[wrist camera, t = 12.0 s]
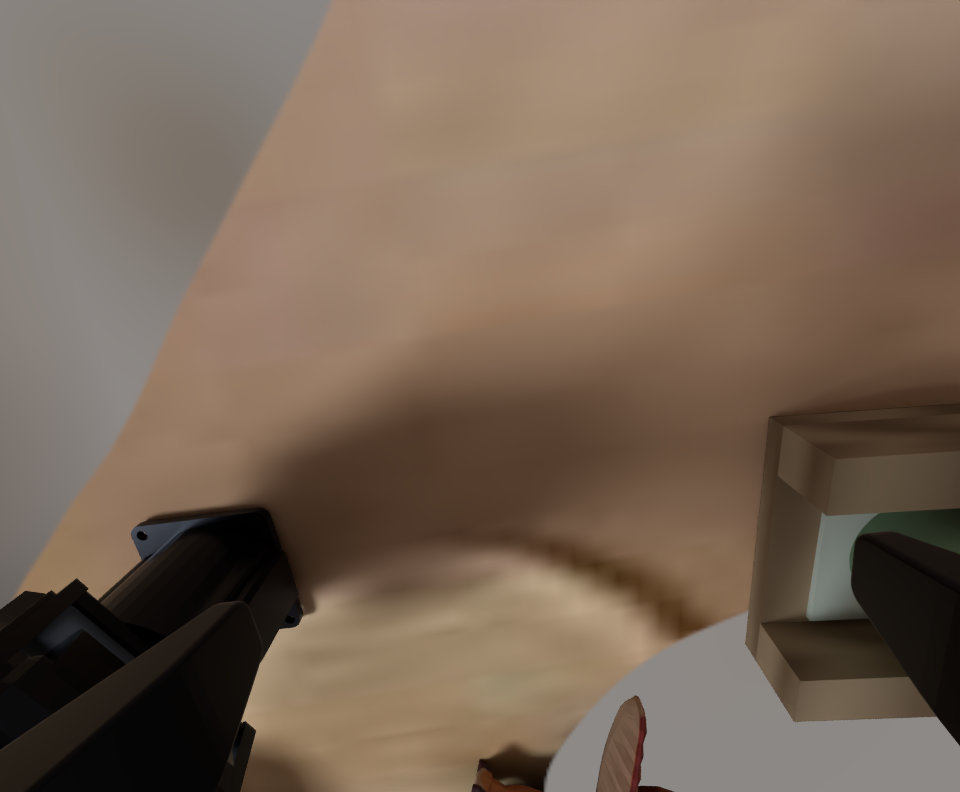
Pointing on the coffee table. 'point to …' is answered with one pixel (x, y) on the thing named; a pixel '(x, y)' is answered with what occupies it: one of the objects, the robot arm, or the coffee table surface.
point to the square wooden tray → (839, 552)
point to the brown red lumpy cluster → (617, 761)
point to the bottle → (919, 527)
